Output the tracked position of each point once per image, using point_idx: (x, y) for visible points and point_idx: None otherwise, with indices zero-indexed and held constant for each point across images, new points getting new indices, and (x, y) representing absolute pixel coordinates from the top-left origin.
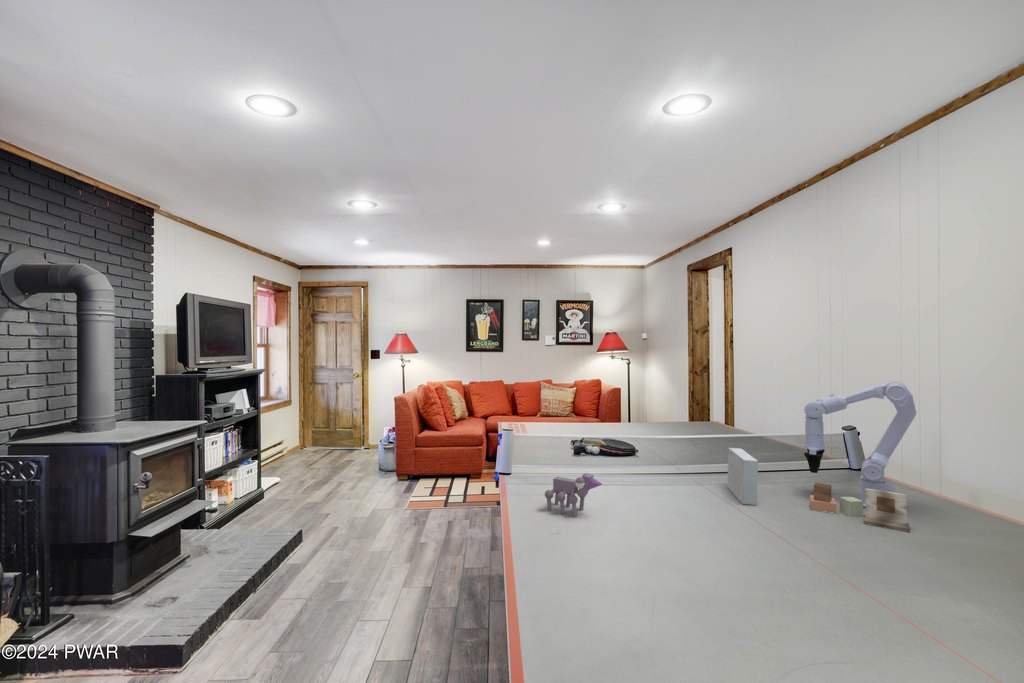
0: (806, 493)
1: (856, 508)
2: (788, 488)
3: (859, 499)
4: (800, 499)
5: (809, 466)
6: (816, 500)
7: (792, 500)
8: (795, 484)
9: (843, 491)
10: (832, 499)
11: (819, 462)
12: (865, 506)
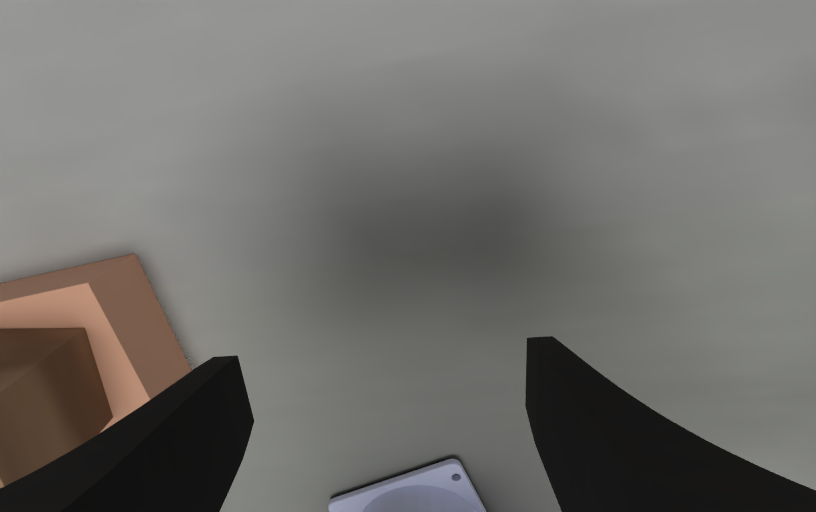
0: (414, 184)
1: None
2: (482, 11)
3: (459, 478)
4: (193, 177)
5: (145, 409)
6: None
7: (108, 129)
8: (687, 38)
9: (653, 383)
10: (115, 422)
11: (561, 491)
12: (329, 507)
